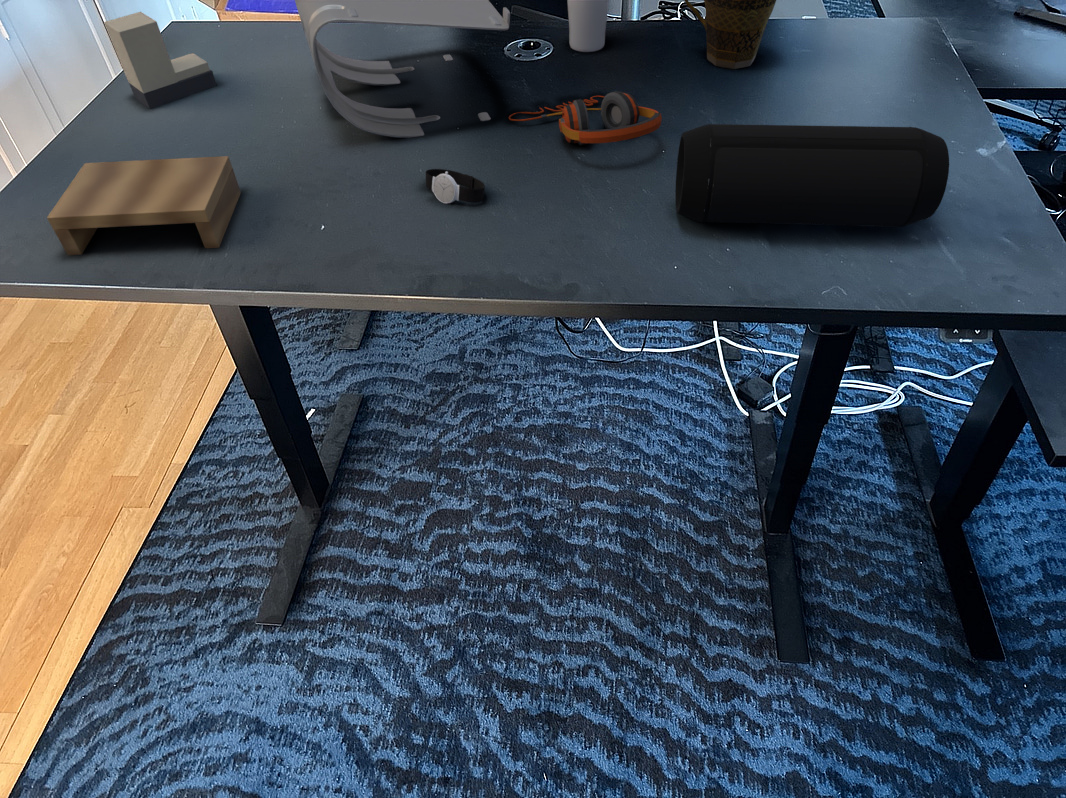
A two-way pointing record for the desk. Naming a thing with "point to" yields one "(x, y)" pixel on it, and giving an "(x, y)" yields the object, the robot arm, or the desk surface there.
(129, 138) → the desk surface
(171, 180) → the display stand
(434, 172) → the watch
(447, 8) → the laptop stand
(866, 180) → the portable speaker
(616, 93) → the headphones
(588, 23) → the white tapered cylinder
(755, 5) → the ceramic cup
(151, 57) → the shoe
